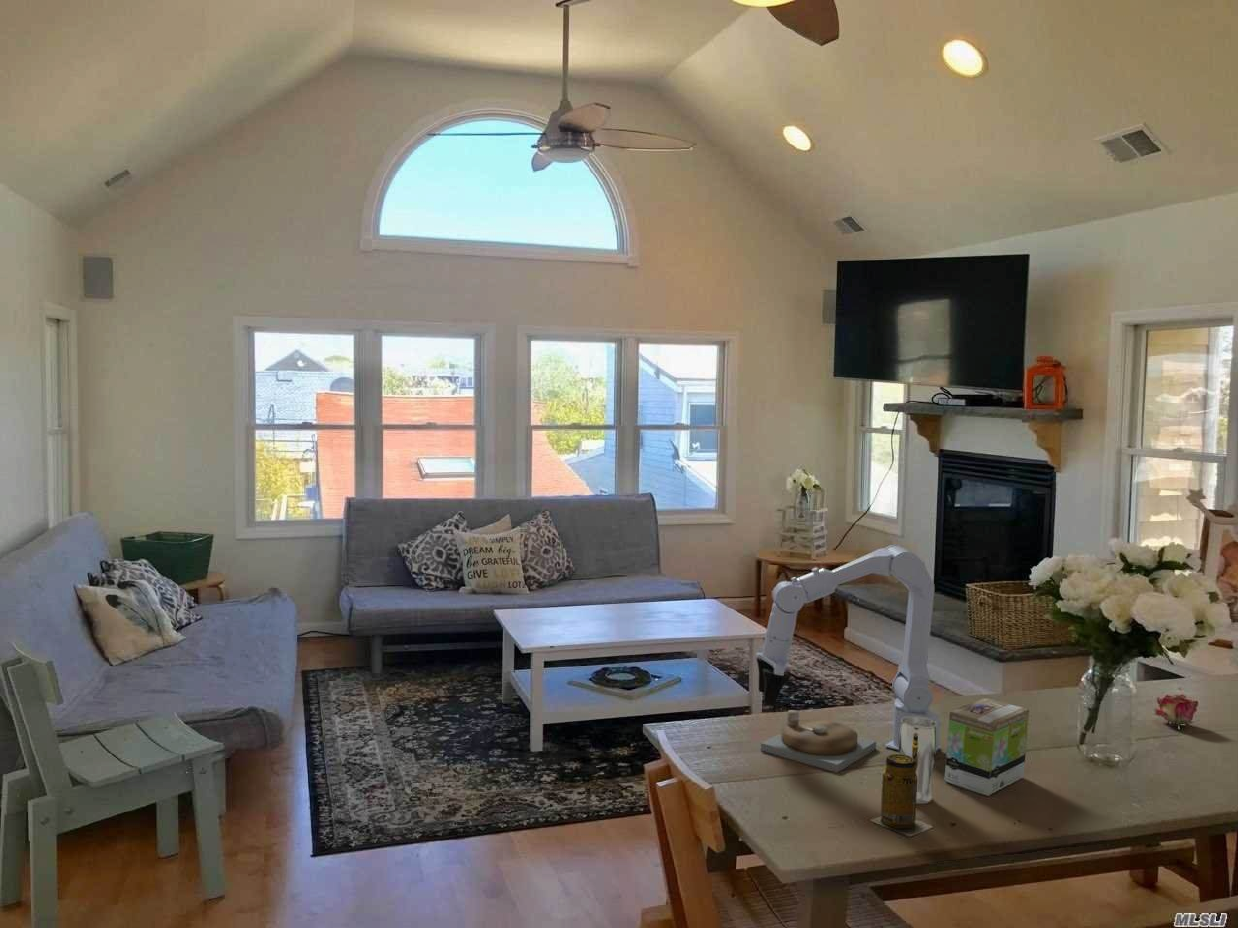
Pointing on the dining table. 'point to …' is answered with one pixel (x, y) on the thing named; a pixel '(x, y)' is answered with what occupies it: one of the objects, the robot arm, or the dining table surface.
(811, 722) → the handwheel
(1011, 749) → the tea box
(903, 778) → the condiment
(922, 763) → the beer glass
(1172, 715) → the flower
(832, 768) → the base plate
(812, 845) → the dining table surface
